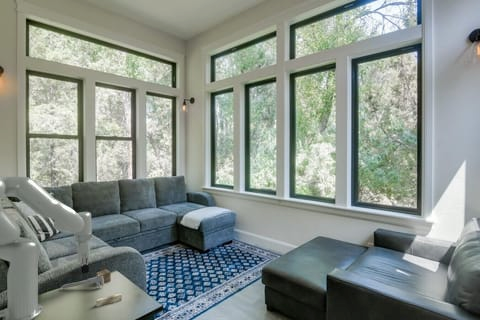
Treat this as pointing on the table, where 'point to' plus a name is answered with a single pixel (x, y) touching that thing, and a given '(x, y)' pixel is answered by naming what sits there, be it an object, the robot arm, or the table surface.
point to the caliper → (90, 281)
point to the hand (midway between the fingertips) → (85, 272)
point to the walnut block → (104, 276)
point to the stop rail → (109, 299)
